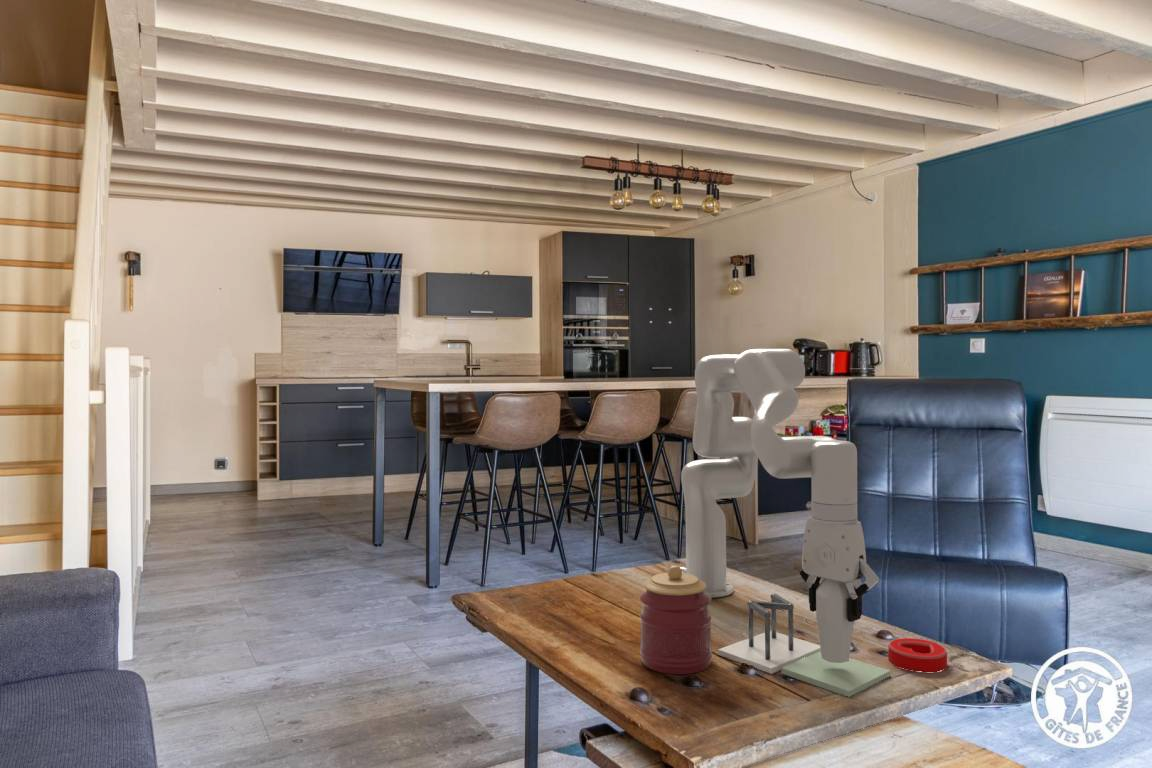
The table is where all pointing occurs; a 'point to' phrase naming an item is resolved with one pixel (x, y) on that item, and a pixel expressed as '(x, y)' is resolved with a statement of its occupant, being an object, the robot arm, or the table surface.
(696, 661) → the canister
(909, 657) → the decorative ornament
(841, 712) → the table surface
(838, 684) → the pale green flat panel
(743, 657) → the wire board
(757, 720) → the table surface
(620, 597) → the table surface
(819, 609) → the faceted bottle
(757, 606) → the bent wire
